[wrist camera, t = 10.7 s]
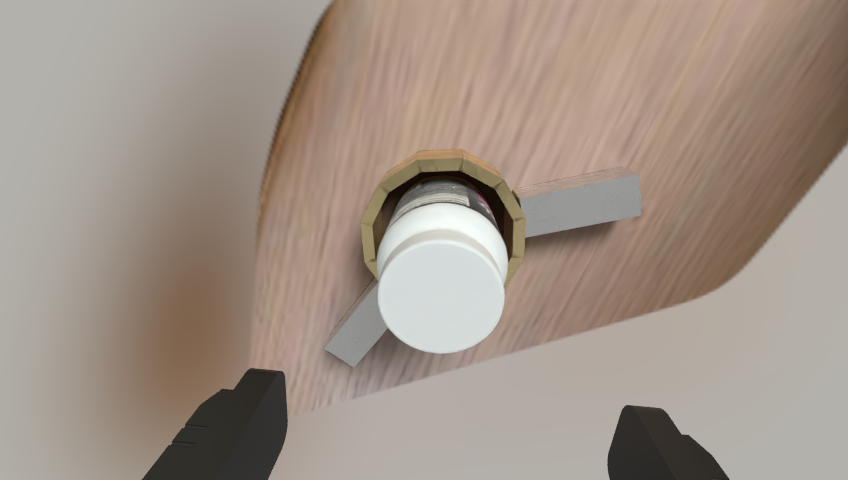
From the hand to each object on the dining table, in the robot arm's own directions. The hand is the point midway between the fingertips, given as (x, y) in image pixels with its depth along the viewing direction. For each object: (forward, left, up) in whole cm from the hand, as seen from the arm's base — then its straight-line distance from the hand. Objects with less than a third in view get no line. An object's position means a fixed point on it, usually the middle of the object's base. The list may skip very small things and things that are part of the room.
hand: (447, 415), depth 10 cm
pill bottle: (0, 0, -16) cm, 16 cm away
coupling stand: (0, 0, -15) cm, 15 cm away
